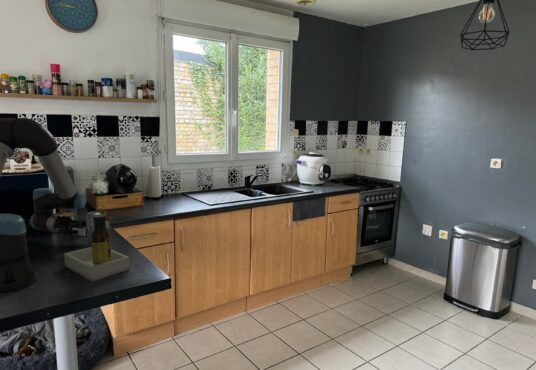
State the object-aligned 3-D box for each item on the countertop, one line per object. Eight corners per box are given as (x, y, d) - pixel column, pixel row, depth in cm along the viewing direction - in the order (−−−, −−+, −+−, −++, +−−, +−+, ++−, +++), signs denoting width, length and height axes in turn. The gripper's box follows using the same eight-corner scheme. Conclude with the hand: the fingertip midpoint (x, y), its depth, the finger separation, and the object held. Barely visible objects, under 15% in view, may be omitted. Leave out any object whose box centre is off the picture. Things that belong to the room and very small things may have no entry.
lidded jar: (70, 225, 200) (69, 208, 199) (77, 229, 193) (76, 211, 191) (47, 229, 193) (46, 211, 192) (54, 233, 185) (52, 215, 184)
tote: (129, 270, 139) (128, 257, 139) (91, 281, 129) (90, 267, 128) (101, 256, 154) (100, 244, 153) (65, 266, 143) (64, 253, 142)
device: (59, 220, 212) (54, 167, 207) (74, 218, 216) (70, 166, 211) (61, 226, 198) (56, 170, 193) (77, 224, 202) (73, 169, 197)
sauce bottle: (113, 270, 137) (110, 216, 134) (94, 273, 134) (90, 218, 130) (110, 264, 142) (107, 213, 139) (92, 267, 139) (88, 215, 136)
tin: (97, 249, 162) (94, 215, 160) (84, 248, 163) (82, 214, 161) (105, 245, 168) (103, 212, 165) (93, 244, 169) (91, 211, 167)
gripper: (83, 225, 183) (118, 229, 176) (36, 239, 160) (74, 245, 153) (82, 210, 182) (117, 213, 175) (34, 222, 159) (72, 227, 152)
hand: (97, 228), depth 164 cm, fingers open, 13 cm apart
